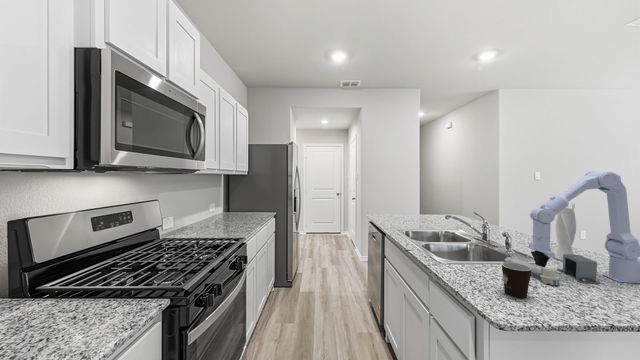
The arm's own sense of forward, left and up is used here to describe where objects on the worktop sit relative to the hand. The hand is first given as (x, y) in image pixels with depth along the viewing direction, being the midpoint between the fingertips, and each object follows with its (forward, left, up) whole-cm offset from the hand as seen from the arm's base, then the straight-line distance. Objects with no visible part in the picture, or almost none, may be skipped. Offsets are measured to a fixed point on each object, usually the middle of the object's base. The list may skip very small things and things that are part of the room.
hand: (540, 269), depth 119 cm
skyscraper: (-23, -23, -2) cm, 33 cm away
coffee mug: (+19, +21, -2) cm, 28 cm away
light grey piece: (+4, 0, -3) cm, 5 cm away
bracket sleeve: (-14, 0, -2) cm, 14 cm away
